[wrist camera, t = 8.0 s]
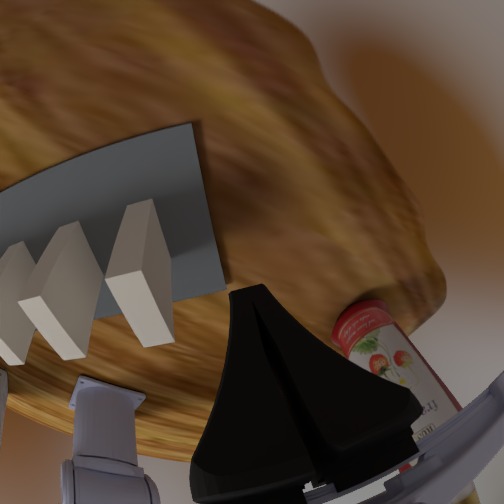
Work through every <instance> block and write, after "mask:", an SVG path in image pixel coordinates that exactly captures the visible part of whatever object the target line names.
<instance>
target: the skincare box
mask: <svg viewBox="0 0 504 504" xmlns="http://www.w3.org/2000/svg"><path fill="white" fill-rule="evenodd" d="M7 396H8V382H7V372H6V371H4V370H3V369H1V368H0V448H1V437H2V428H3V419H4V412H5V407H6V401H7Z"/></svg>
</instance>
